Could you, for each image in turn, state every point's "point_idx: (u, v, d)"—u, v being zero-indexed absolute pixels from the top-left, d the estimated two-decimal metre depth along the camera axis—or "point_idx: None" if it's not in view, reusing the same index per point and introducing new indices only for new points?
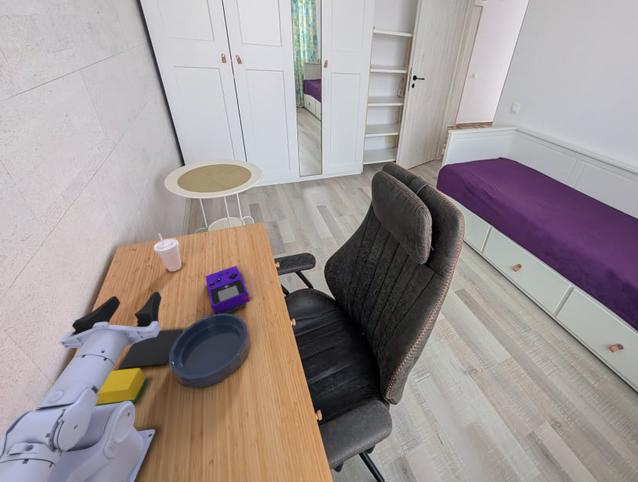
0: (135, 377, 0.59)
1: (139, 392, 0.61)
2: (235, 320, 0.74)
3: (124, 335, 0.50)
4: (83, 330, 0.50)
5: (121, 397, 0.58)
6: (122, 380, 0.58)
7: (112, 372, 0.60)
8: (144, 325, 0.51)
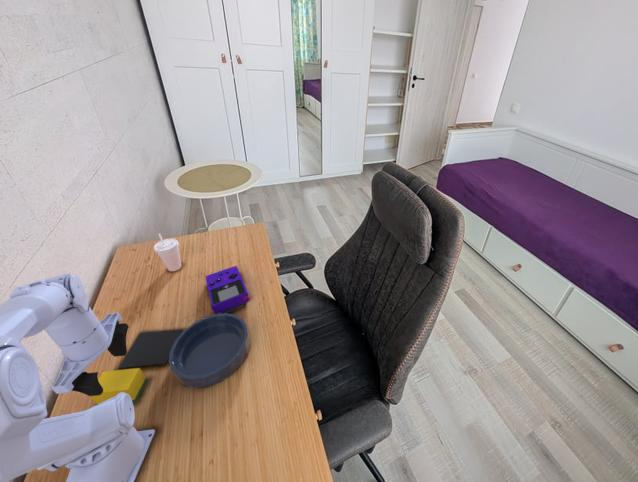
0: (135, 377, 0.59)
1: (139, 392, 0.61)
2: (235, 320, 0.74)
3: None
4: None
5: None
6: (122, 380, 0.58)
7: (112, 372, 0.60)
8: None
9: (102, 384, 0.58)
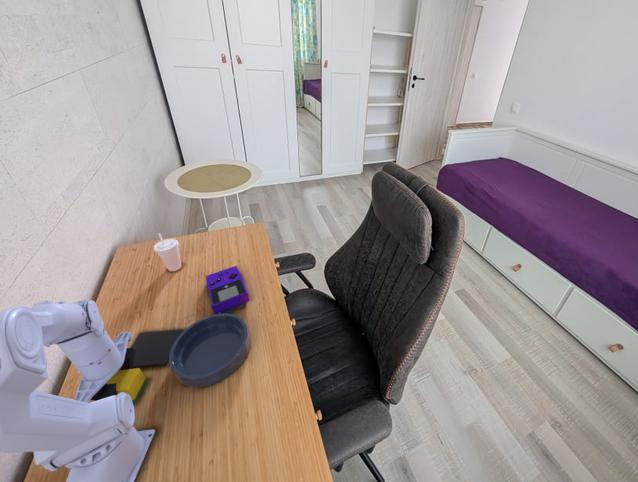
0: (135, 377, 0.59)
1: (139, 392, 0.61)
2: (235, 320, 0.74)
3: None
4: None
5: None
6: (122, 380, 0.58)
7: None
8: None
9: None
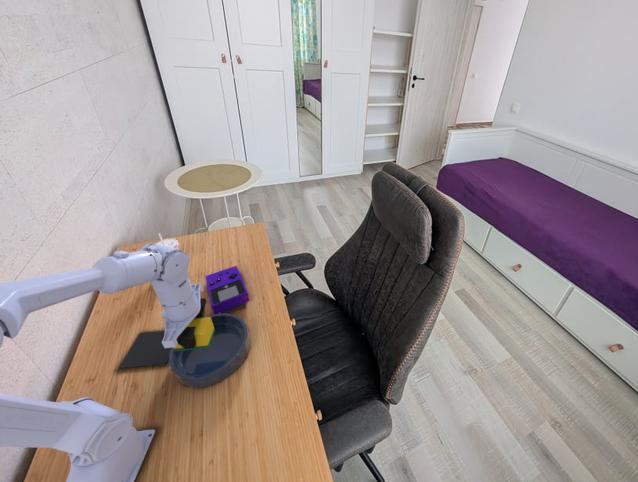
0: (208, 325, 0.63)
1: (210, 340, 0.64)
2: (235, 320, 0.74)
3: None
4: None
5: (196, 342, 0.62)
6: (197, 327, 0.62)
7: None
8: None
9: None
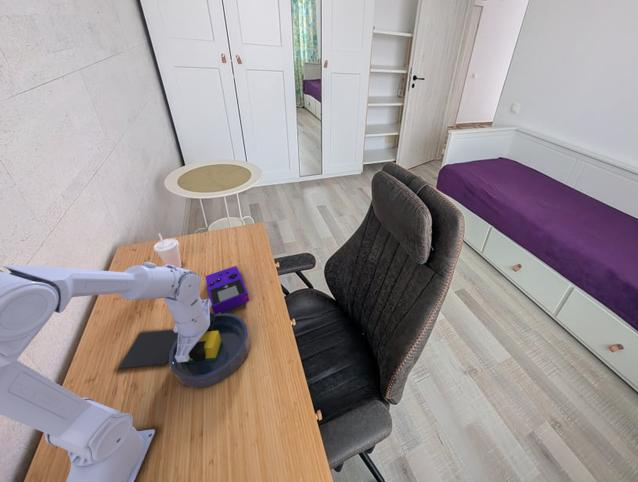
0: (216, 338, 0.67)
1: (218, 352, 0.68)
2: (235, 320, 0.74)
3: None
4: None
5: (205, 355, 0.66)
6: (205, 340, 0.66)
7: None
8: None
9: None
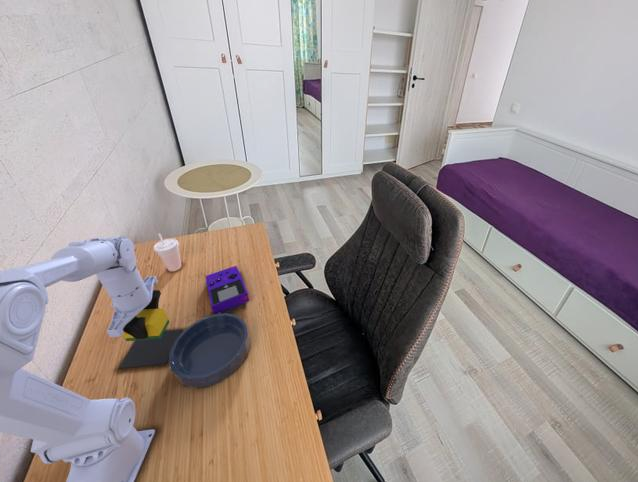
0: (159, 315, 0.64)
1: (163, 330, 0.66)
2: (235, 320, 0.74)
3: None
4: None
5: (147, 332, 0.63)
6: (148, 317, 0.63)
7: None
8: None
9: None
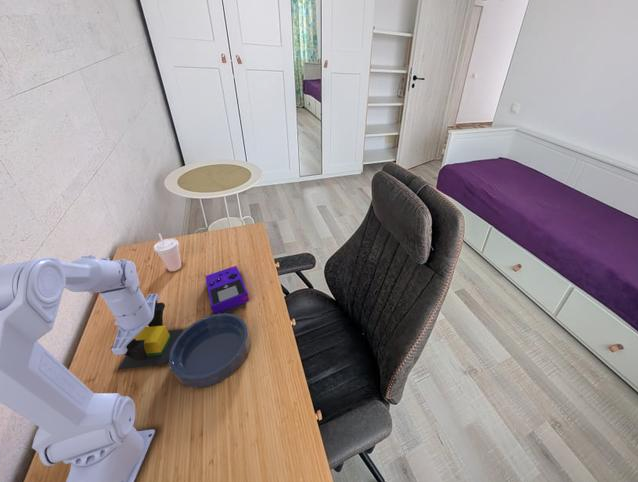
0: (162, 333, 0.68)
1: (165, 347, 0.69)
2: (235, 320, 0.74)
3: None
4: None
5: (150, 349, 0.66)
6: (151, 334, 0.67)
7: None
8: None
9: None
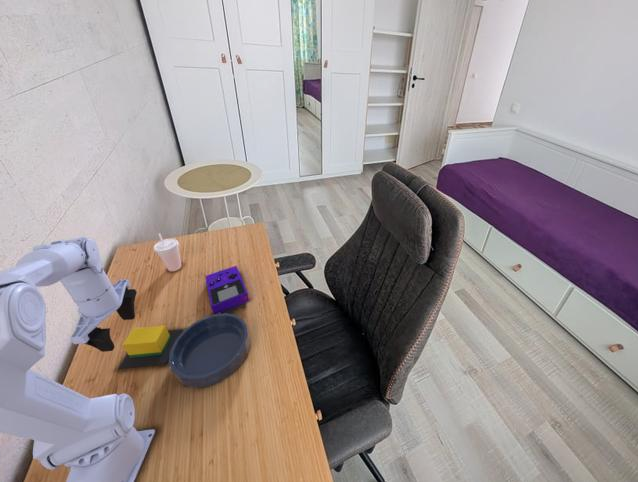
0: (162, 333, 0.68)
1: (165, 347, 0.69)
2: (235, 320, 0.74)
3: None
4: None
5: (150, 349, 0.66)
6: (151, 334, 0.67)
7: (141, 328, 0.68)
8: None
9: (134, 337, 0.66)
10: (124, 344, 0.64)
